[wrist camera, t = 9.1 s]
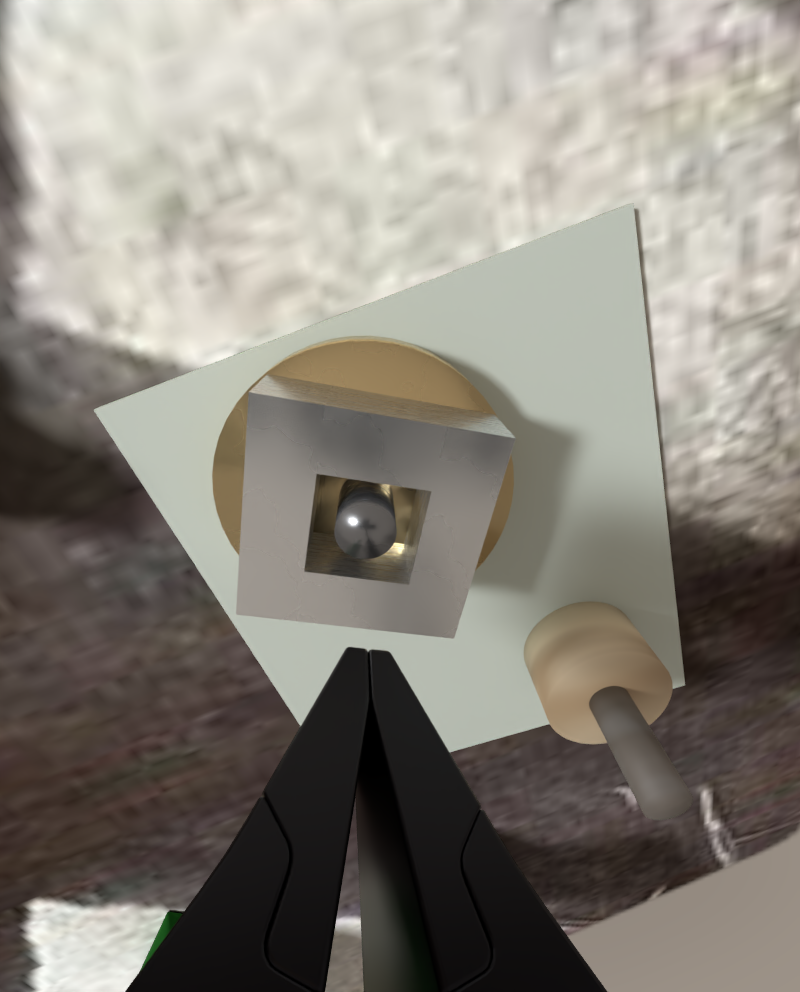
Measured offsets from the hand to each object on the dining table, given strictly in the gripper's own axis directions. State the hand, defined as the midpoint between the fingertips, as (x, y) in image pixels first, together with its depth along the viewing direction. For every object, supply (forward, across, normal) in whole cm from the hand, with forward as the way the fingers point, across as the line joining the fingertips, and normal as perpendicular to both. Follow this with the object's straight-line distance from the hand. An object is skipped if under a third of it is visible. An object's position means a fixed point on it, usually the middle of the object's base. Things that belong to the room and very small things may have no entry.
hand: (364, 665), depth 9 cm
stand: (+9, -11, +6) cm, 15 cm away
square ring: (+7, 0, 0) cm, 7 cm away
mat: (+9, -4, +4) cm, 11 cm away
